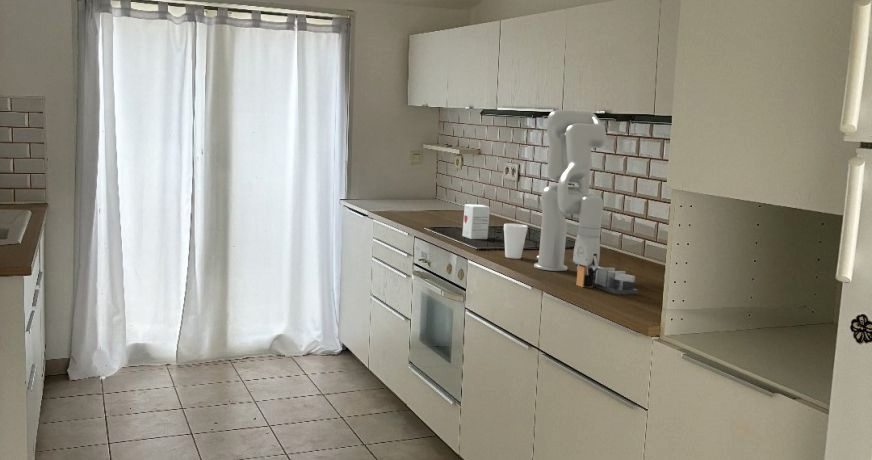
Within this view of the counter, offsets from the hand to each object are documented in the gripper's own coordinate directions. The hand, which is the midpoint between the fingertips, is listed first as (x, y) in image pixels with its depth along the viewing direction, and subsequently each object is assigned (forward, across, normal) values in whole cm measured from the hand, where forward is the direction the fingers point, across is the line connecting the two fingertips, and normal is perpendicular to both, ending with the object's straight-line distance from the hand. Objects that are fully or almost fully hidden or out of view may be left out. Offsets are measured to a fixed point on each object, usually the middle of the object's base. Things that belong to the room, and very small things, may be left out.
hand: (584, 284), depth 310 cm
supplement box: (+1, -110, +10) cm, 110 cm away
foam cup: (+1, -58, +2) cm, 58 cm away
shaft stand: (+1, +4, +8) cm, 9 cm away
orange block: (+1, 0, 0) cm, 1 cm away
